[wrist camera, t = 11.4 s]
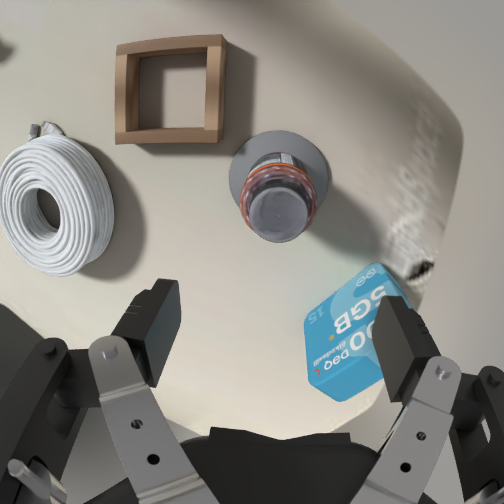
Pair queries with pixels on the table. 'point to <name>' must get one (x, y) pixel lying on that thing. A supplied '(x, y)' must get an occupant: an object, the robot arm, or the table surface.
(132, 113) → the walnut holder
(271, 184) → the supplement bottle
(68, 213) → the cable
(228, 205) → the table surface
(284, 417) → the table surface
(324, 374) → the data package
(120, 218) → the table surface
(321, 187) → the felt coaster
